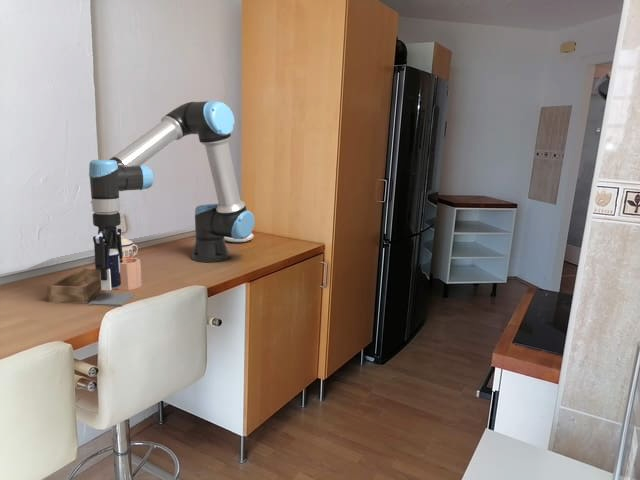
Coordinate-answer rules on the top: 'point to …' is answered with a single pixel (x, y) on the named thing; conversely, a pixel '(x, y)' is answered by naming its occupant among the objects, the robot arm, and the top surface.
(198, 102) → the robot arm
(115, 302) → the coaster
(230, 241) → the white bowl
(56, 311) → the top surface
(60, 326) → the top surface
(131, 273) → the pot
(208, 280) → the top surface
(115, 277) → the beverage can
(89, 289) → the crate
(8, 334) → the top surface
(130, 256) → the teacup with lid
